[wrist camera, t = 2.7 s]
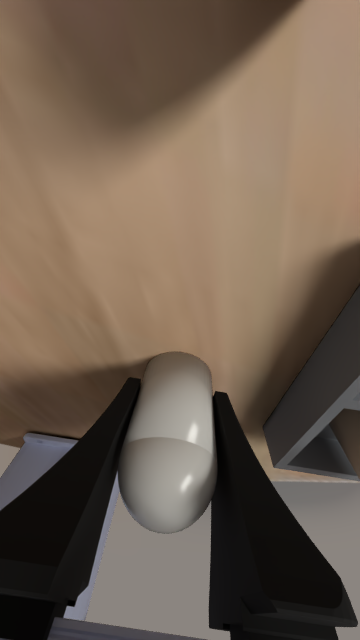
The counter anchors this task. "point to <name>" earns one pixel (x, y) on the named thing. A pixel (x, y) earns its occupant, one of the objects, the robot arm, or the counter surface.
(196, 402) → the egg
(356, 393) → the grey shallow tray
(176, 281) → the counter surface
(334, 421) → the brown egg
